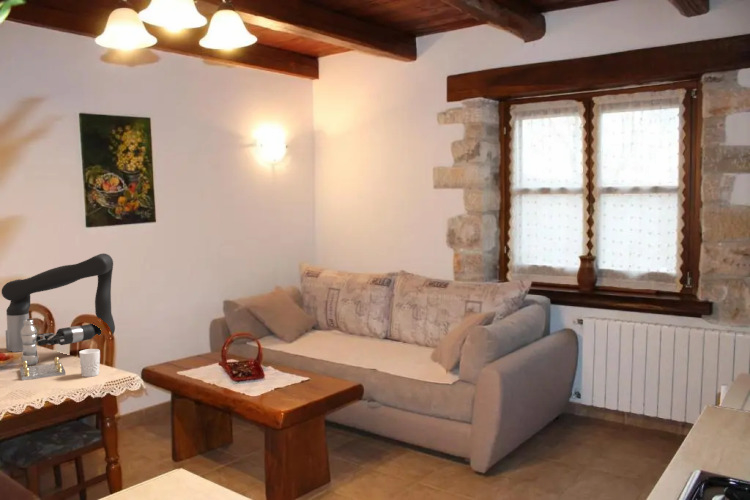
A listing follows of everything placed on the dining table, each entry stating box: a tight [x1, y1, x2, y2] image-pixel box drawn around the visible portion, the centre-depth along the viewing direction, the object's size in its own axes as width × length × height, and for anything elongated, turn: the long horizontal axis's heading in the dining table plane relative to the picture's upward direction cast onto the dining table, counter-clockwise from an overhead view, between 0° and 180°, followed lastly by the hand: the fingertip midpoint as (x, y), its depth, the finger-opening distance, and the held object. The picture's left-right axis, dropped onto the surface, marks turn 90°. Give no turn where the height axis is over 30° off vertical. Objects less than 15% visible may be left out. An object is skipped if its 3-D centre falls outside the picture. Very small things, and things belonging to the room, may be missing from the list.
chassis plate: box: [19, 356, 66, 381], centre depth 275 cm, size 16×16×4 cm
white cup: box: [78, 348, 101, 378], centre depth 272 cm, size 8×8×10 cm
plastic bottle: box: [21, 318, 39, 366], centre depth 284 cm, size 6×7×20 cm
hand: (33, 341), depth 286 cm, fingers open, 8 cm apart
